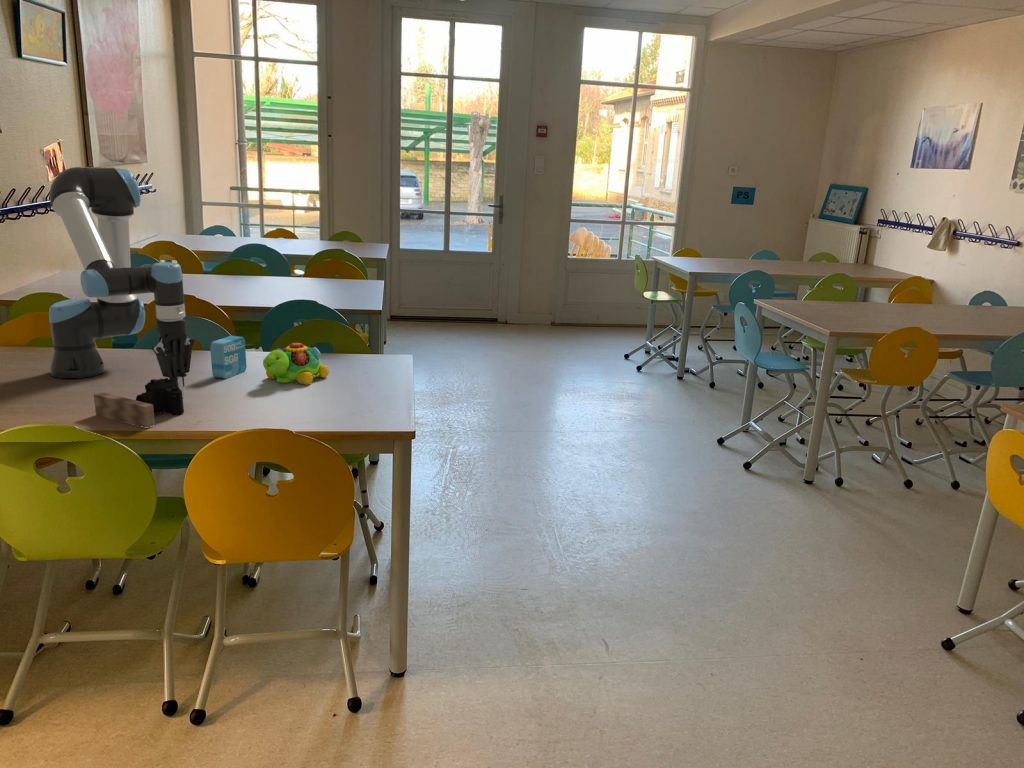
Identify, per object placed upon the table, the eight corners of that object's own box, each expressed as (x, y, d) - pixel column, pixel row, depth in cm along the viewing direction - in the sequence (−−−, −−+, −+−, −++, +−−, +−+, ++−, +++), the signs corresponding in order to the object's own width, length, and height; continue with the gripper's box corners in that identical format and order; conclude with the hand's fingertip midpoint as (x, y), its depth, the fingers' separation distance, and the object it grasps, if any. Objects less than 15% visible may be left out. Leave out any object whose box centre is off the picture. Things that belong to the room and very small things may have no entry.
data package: (224, 380, 239) (221, 343, 236) (212, 378, 240) (209, 342, 237) (247, 370, 250) (244, 336, 247) (235, 369, 252) (233, 334, 248)
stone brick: (96, 415, 204) (93, 394, 202) (104, 412, 206) (101, 391, 204) (147, 428, 195) (145, 407, 194) (155, 426, 198) (153, 404, 196)
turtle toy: (247, 385, 235) (245, 349, 232) (293, 368, 256) (292, 335, 253) (292, 393, 229) (290, 356, 226) (335, 375, 250) (334, 341, 247)
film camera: (126, 409, 209) (123, 378, 206) (160, 401, 216) (157, 372, 214) (155, 422, 200) (152, 390, 198) (189, 413, 208) (186, 382, 205)
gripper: (161, 324, 201) (169, 406, 208) (199, 316, 213) (205, 394, 220) (141, 320, 204) (150, 402, 211) (180, 313, 216) (187, 390, 223)
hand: (178, 398), depth 215 cm, fingers closed
